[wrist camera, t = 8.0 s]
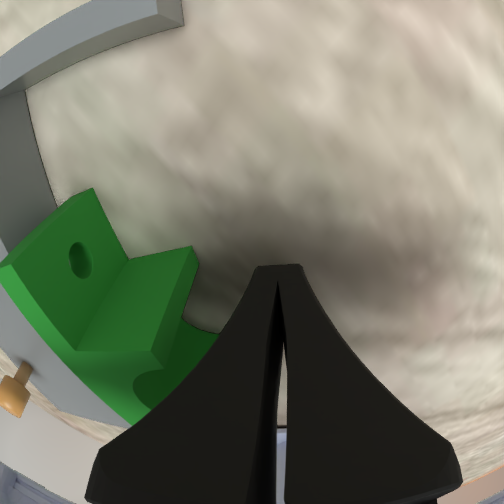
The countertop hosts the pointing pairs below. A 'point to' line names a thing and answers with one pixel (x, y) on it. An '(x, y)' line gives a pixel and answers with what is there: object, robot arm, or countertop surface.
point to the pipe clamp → (107, 306)
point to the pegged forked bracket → (37, 187)
